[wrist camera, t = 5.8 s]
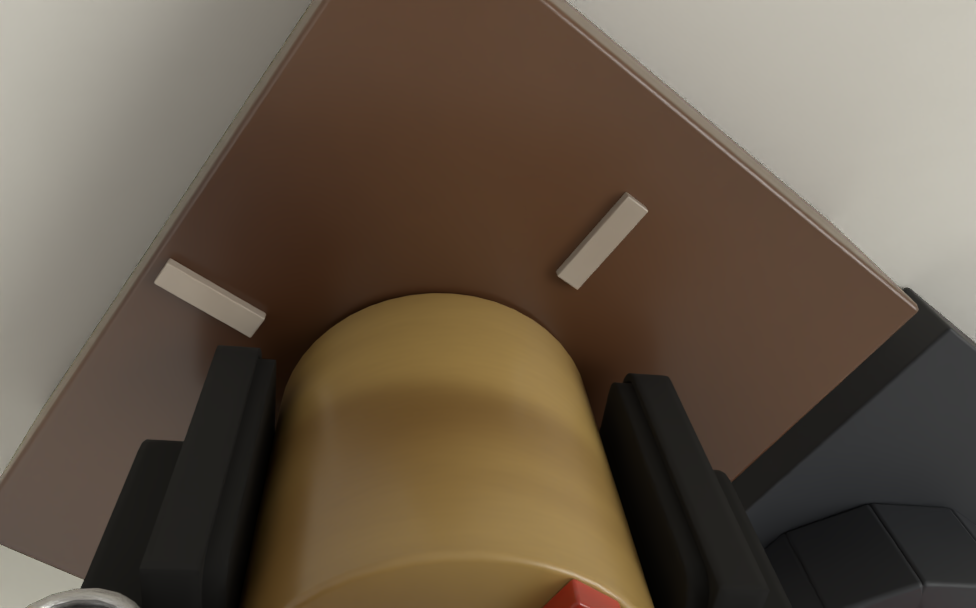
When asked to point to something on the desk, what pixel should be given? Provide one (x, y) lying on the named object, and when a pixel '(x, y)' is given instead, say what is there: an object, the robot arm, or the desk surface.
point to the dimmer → (462, 244)
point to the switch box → (878, 480)
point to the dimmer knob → (439, 471)
